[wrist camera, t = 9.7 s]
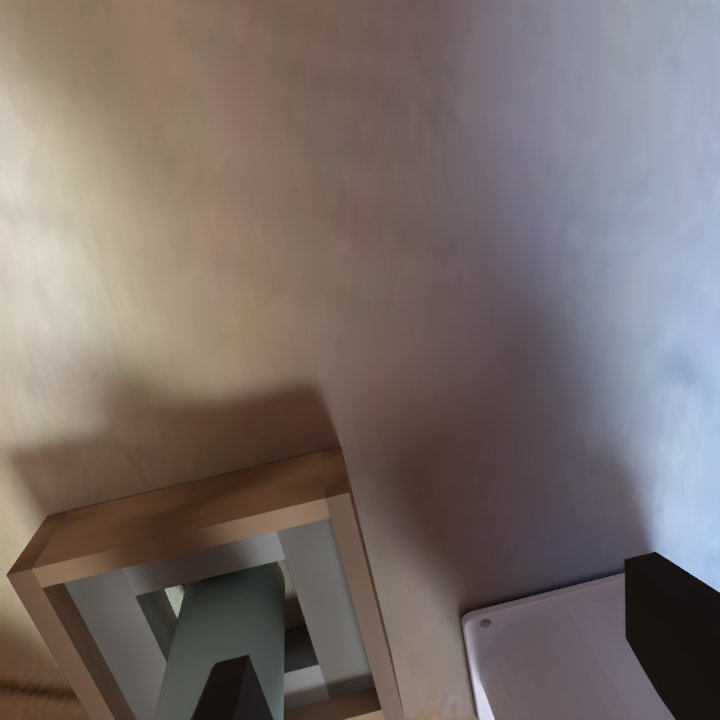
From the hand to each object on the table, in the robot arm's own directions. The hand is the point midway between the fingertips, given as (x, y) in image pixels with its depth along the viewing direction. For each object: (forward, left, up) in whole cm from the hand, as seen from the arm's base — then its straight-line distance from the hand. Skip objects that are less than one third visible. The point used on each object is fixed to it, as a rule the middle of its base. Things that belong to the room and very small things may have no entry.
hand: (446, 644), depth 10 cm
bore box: (+7, +7, -10) cm, 14 cm away
